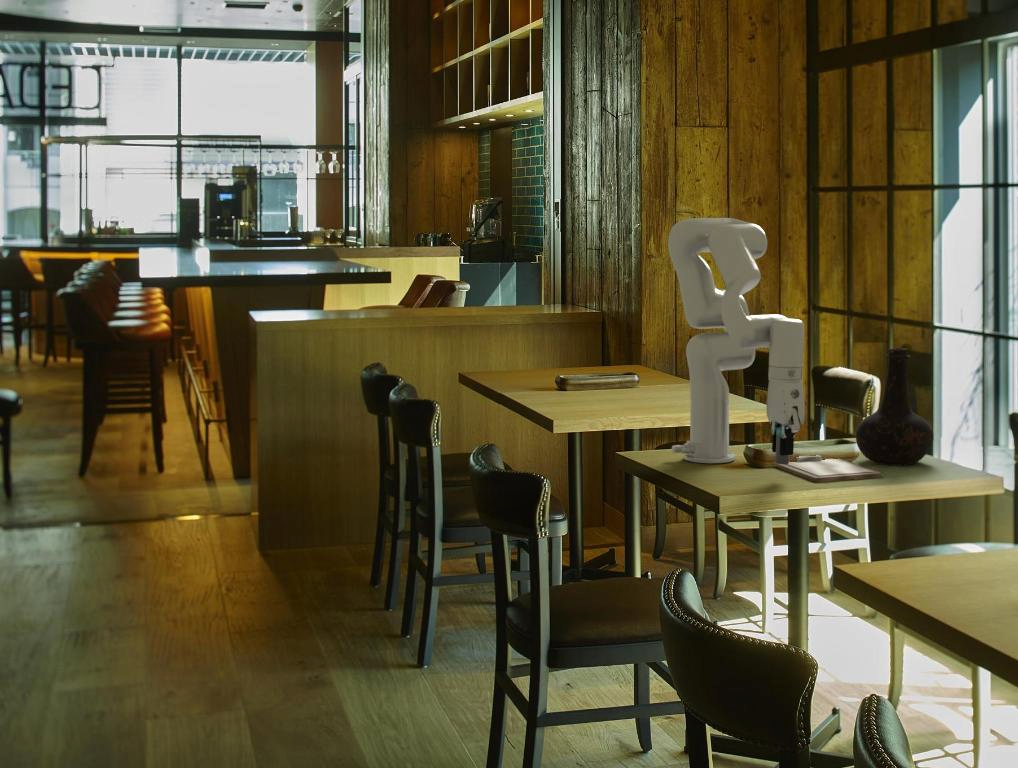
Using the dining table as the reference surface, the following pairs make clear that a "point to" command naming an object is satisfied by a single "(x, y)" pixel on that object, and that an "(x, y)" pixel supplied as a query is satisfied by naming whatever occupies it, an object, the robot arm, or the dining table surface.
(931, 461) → the dining table surface
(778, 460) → the marker
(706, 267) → the robot arm
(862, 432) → the glass bottle
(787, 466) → the writing board
